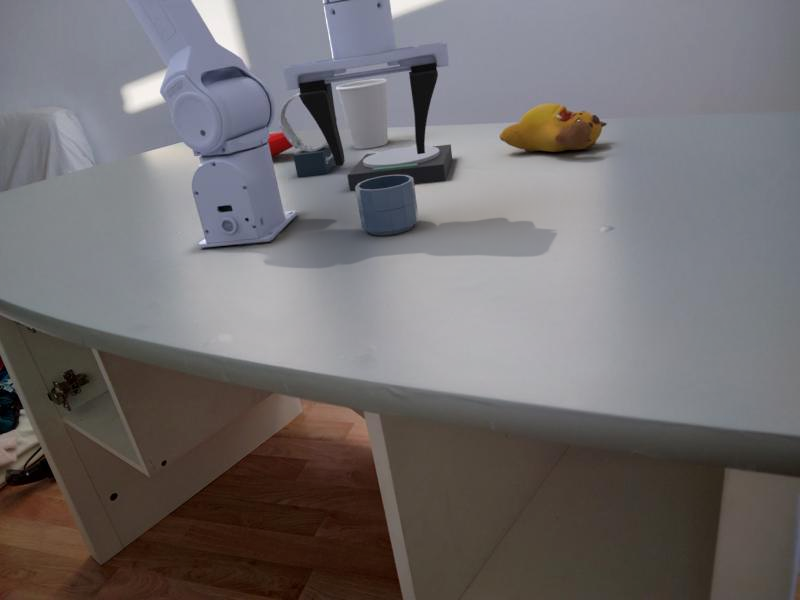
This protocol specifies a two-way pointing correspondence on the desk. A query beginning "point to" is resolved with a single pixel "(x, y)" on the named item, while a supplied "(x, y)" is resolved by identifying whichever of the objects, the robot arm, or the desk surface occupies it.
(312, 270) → the desk surface
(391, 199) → the blue cup
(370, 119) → the dixie cup
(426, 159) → the scale
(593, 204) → the desk surface
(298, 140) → the watch
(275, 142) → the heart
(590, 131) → the toy
